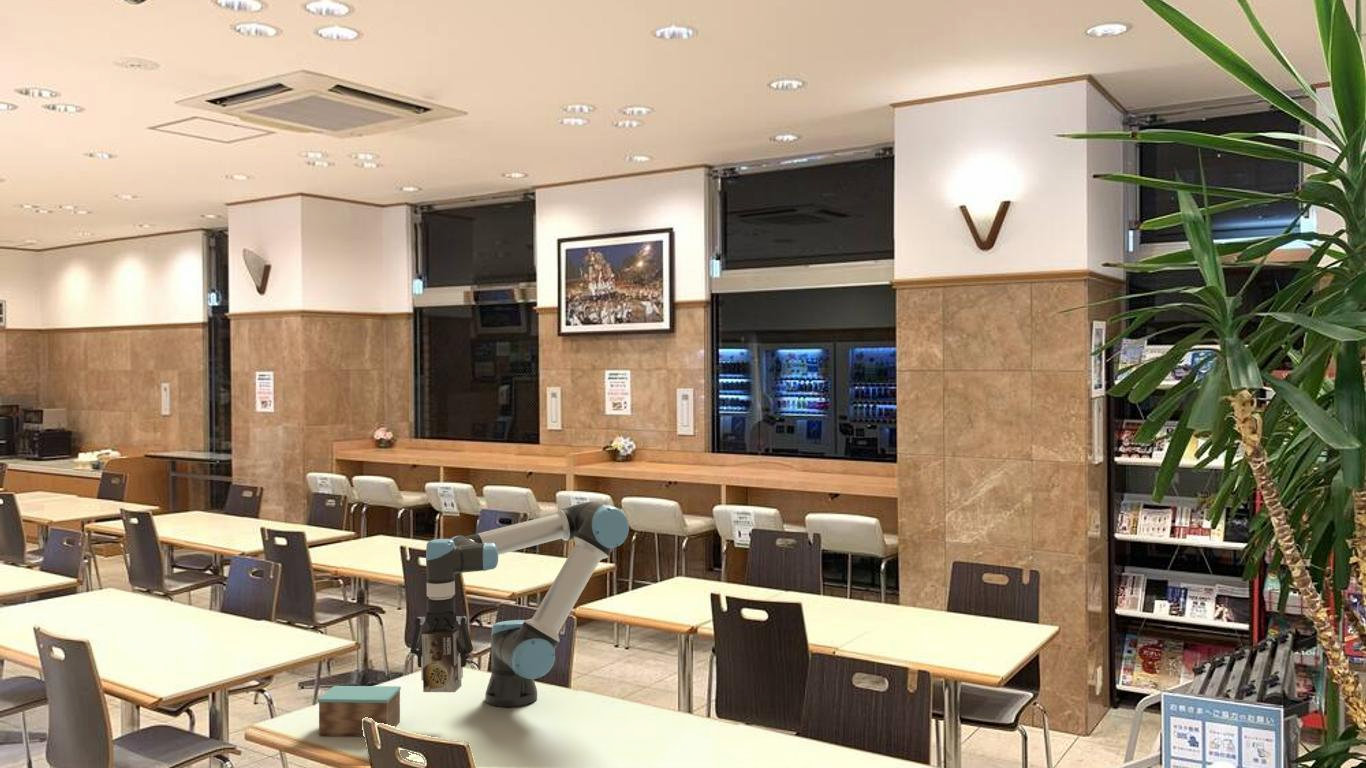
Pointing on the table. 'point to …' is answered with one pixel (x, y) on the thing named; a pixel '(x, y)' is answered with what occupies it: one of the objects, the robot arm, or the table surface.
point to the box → (355, 716)
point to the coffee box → (440, 661)
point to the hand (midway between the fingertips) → (442, 678)
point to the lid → (360, 694)
